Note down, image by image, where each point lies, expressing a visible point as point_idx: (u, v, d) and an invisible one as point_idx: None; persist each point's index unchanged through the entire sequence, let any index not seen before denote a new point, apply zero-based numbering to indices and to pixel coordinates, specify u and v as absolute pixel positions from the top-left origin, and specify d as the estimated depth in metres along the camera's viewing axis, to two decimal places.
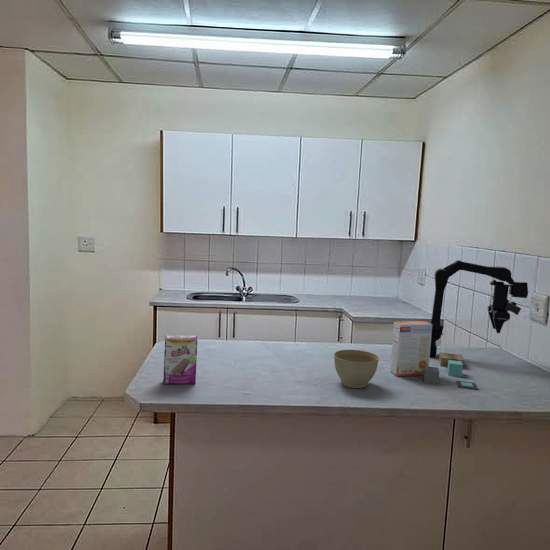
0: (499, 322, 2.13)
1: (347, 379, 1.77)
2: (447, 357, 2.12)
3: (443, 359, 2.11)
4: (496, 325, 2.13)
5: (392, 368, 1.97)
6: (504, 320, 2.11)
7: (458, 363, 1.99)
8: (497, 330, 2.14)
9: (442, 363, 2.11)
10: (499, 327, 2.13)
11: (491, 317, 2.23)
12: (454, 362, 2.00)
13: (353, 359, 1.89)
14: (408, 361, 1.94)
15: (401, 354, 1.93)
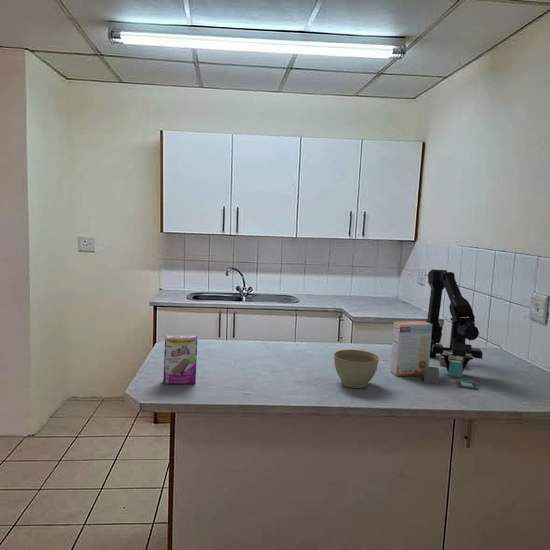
0: None
1: (347, 379, 1.77)
2: None
3: (442, 359, 2.11)
4: None
5: (392, 368, 1.97)
6: None
7: (458, 363, 1.99)
8: (446, 367, 2.02)
9: (441, 363, 2.11)
10: (446, 364, 2.01)
11: None
12: (454, 362, 2.00)
13: (353, 359, 1.89)
14: (408, 361, 1.94)
15: (401, 354, 1.93)
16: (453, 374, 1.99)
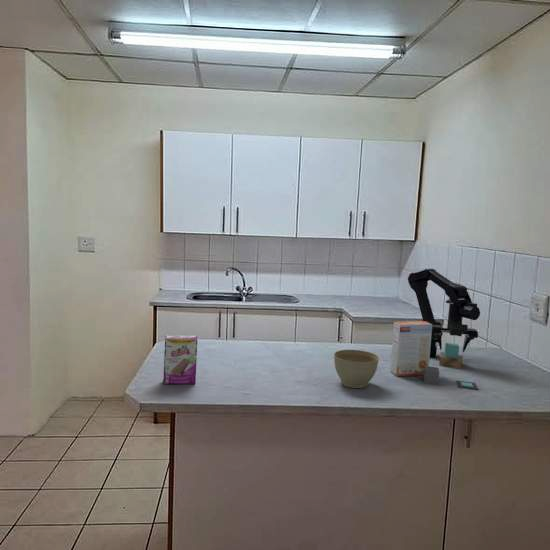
0: None
1: (347, 379, 1.77)
2: (446, 357, 2.12)
3: (442, 359, 2.11)
4: (438, 340, 2.16)
5: (392, 368, 1.97)
6: None
7: (455, 345, 2.12)
8: None
9: (441, 363, 2.12)
10: (439, 343, 2.15)
11: (464, 340, 2.14)
12: (451, 344, 2.14)
13: (353, 359, 1.89)
14: (408, 361, 1.94)
15: (401, 354, 1.93)
16: (450, 356, 2.12)
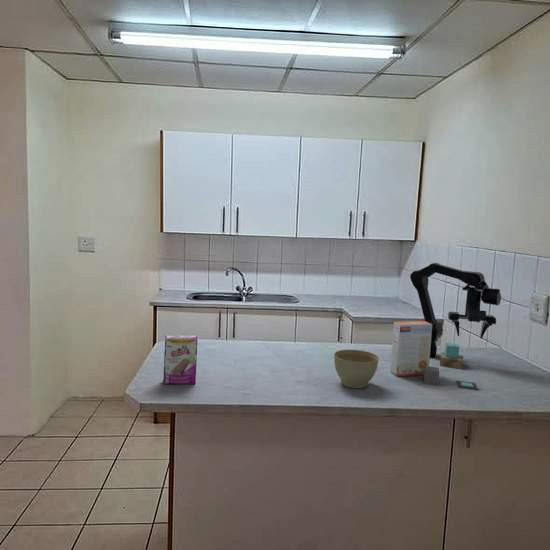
0: None
1: (347, 379, 1.77)
2: (447, 357, 2.12)
3: (442, 359, 2.11)
4: None
5: (392, 368, 1.97)
6: (455, 322, 2.14)
7: (455, 345, 2.13)
8: (457, 332, 2.16)
9: (441, 363, 2.12)
10: (457, 330, 2.15)
11: (482, 326, 2.15)
12: (451, 344, 2.14)
13: (353, 359, 1.89)
14: (408, 361, 1.94)
15: (401, 354, 1.93)
16: (450, 356, 2.12)
